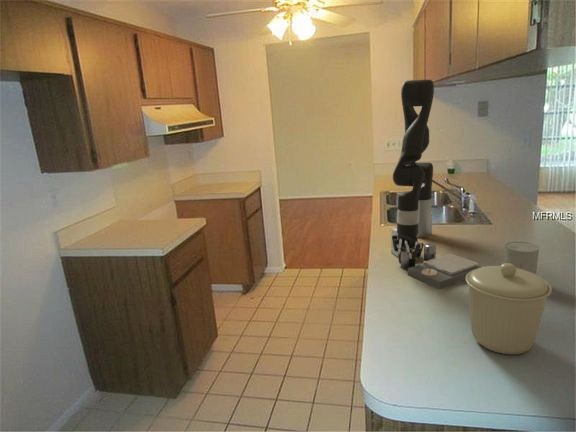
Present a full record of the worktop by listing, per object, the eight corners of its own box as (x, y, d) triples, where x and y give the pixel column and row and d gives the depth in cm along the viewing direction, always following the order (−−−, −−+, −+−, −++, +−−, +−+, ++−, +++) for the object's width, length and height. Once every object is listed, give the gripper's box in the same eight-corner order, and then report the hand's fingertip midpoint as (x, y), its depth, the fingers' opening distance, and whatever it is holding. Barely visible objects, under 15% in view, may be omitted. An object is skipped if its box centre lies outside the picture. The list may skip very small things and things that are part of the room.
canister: (473, 316, 111) (478, 246, 106) (549, 337, 100) (559, 259, 94) (451, 347, 98) (456, 268, 92) (536, 375, 86) (547, 287, 81)
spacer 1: (406, 263, 150) (407, 248, 148) (415, 267, 146) (416, 252, 144) (398, 266, 148) (398, 251, 146) (406, 270, 144) (407, 254, 142)
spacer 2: (429, 257, 155) (429, 242, 154) (438, 260, 151) (438, 245, 150) (421, 259, 153) (421, 245, 152) (430, 263, 149) (430, 248, 148)
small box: (397, 257, 157) (398, 232, 154) (390, 252, 162) (390, 228, 159) (415, 254, 159) (416, 229, 156) (408, 250, 164) (408, 225, 161)
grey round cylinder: (505, 273, 137) (508, 239, 134) (537, 279, 131) (541, 244, 128) (498, 283, 130) (502, 248, 127) (532, 290, 124) (536, 253, 121)
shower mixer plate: (450, 255, 148) (450, 253, 148) (478, 265, 138) (478, 263, 138) (423, 264, 142) (423, 261, 142) (451, 275, 132) (451, 272, 131)
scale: (448, 261, 150) (448, 253, 149) (481, 273, 138) (482, 265, 137) (407, 274, 141) (407, 266, 140) (439, 288, 129) (439, 280, 128)
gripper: (430, 223, 138) (428, 268, 142) (401, 215, 150) (400, 257, 155) (415, 227, 134) (413, 274, 139) (386, 218, 147) (385, 261, 151)
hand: (406, 265), depth 147 cm, fingers closed on spacer 1, 4 cm apart
